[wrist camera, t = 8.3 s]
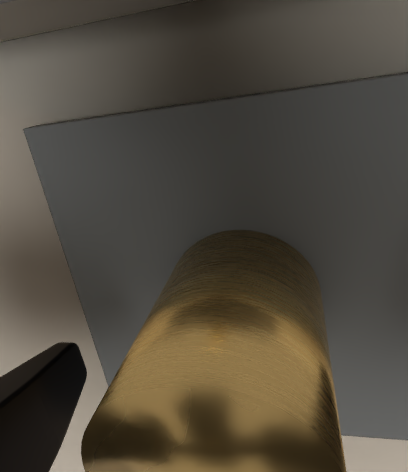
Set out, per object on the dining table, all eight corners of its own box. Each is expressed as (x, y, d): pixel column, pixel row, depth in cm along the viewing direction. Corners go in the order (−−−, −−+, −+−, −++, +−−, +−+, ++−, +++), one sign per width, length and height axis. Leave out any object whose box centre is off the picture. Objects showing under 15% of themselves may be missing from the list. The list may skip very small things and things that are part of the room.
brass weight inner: (323, 358, 10) (349, 585, 6) (184, 354, 11) (116, 546, 7) (319, 224, 9) (352, 398, 4) (158, 234, 10) (46, 381, 5)
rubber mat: (429, 424, 11) (436, 442, 11) (125, 404, 14) (118, 418, 13) (477, 62, 7) (491, 62, 7) (37, 125, 10) (22, 129, 9)
